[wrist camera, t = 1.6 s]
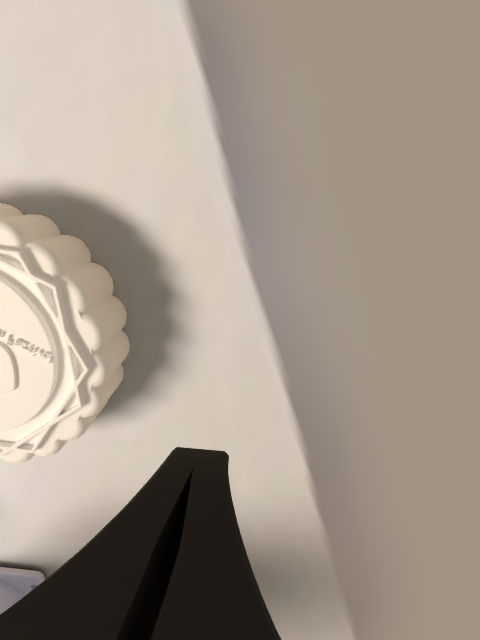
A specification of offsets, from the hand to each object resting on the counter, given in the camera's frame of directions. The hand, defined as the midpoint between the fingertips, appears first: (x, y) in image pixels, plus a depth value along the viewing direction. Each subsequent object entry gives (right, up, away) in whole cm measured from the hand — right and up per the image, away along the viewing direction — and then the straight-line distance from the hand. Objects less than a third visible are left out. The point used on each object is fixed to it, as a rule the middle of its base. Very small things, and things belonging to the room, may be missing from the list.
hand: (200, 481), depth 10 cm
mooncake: (-10, +4, +10) cm, 15 cm away
